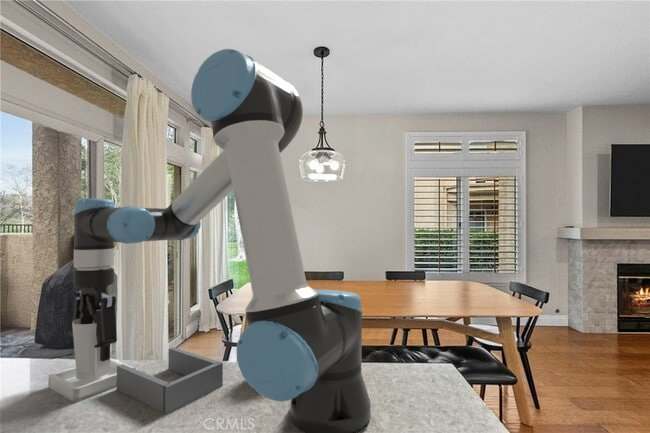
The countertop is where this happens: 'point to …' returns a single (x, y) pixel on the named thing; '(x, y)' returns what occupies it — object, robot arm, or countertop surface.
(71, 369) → the tray
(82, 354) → the cup
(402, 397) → the countertop surface
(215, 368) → the box
